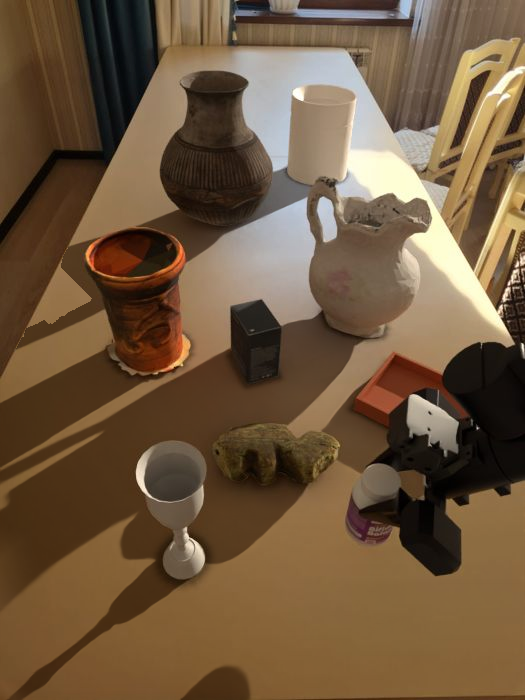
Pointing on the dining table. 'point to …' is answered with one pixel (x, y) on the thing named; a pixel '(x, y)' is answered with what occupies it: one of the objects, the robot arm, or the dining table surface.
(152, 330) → the vessel
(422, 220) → the ceramic pitcher
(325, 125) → the canister
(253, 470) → the sculpture
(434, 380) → the tray
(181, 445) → the chalice
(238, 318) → the box
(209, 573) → the dining table surface
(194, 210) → the vase
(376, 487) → the pill bottle
